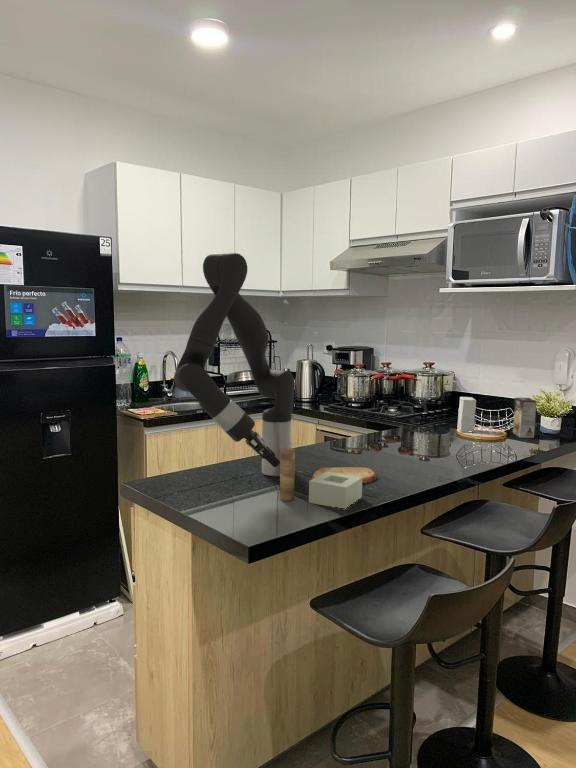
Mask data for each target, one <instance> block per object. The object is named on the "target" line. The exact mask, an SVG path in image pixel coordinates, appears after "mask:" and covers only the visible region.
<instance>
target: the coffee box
mask: <svg viewBox="0 0 576 768" xmlns="http://www.w3.org/2000/svg"><path fill="white" fill-rule="evenodd" d="M513 408H514V409H513V424H512V434H514V435H515V436H517V437H518V438H526V439H527V438H529V439H530V438H531V439H532V438H533V439H534V437H535V426H536V414H537V400H534V399H533V398H530V397H515V398H514V407H513Z"/></svg>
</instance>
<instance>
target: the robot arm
mask: <svg viewBox="0 0 576 768" xmlns="http://www.w3.org/2000/svg"><path fill="white" fill-rule="evenodd" d="M202 273H203V276H204V279H205V281H206V283H207V285H208V287H209V289H210V290H211V291H212V293H213V294H214V297H213V298H212V300H211V302H210V303H209V304H208V305H207V306H206V307H205V308H204V310H203V311H202V312H201V313H200V314H199V315H198V317H197V318H196V320H195V322H194V323H193V326H192V328H191V331H190V334H189V337H188V340H187V342H186V347H185V350H184V352H183V354H182V356H181V358H180V359H179V362H178V365H177V367H176V370H175V371H174V375H173V381H174V385H175V387H177V388H178V389H179V390H180V391H181V392H182V391H183V392H189V394H191V395H192V396H193V398H195V400H197V401H198V402H199V403H198V404H199V406H200V408H201V409H202V410H203V411H204V412H205V413H206V414H208V416H209V417H210V418H211V419H212V420H213V421H214V422H215V423H216V424H217V426H218V427H219V428H221V430H222V431H224V433H225V434H227V436H228V437H230V438H231V439H232V440H233V441H234V442H236V443H239V442H241V441H242V439H244V440H245V444H246V445H247V446H248V447H249V448H250V449H252V450H253V451H254V452H255V453H256V454H258V455H259V456H260V457H261V473H262V475H266V476H270V477H280V450H281V449H282V448H292V442H291V441H292V415H293V410H294V401H295V400H294V399H295V378H294V375H293V373H292V372H291V371H289V370H283V369H272V368H271V367H270V365H269V363H268V361H267V358H266V352H267V349H268V345H269V340H270V337H269V336H270V335H269V332H268V329H267V326H266V324H265V322H264V320H263V318H262V316H261V315H260V313H259V312H258V310H256V309H255V307H253V306H252V305H251V303H249V302H248V301H247V300H246V299H245V298H244V297H242V295H241V293H240V290H241V289H242V287H243V285H244V284H245V281H246V278H247V276H248V262H247V259H245V257H244V256H243V255H242V254H240V253H238V252H237V253H236V252H215V253H214V252H213V253H210V254H207V256H206V257H205V258H204V260H203V263H202ZM226 318H227V321H228V323H229V324H230V326H231V329H232V331H233V334H234V335H235V337H236V340H237V342H238V344H239V346H240V348H241V350H242V353H243V354H244V356H245V359H246V361H247V363H248V365H249V369H250V372H251V376H252V377H253V381H254V384H255V386H256V389H257V392H258V393H259V394H260V395H261V396H262V397H263V398H267V399H274V400H275V401H274V406H273V407H271V408H267V409H265V410H263V412H262V413H261V415H262V416H261V421H262V423H261V425H262V426H261V436H260V434H259V433H258V432H257V431H254V430H253V429H254V427H255V424H256V422H255V420H254V419H253V418H252V417H251V416H250V415H249V414H248V413H246V411H245V410H244V409H242V408H241V407H240V406H239V405H238V404H237V403H236V402H234V401H233V400H232V398H231V397H229V396H228V395H227V393H225V392H224V391H223V390H222V389H220V388H219V387H218V385H217V384H216V382H215V381H214V379H213V378H212V377H211V375H210V374H209V373H208V372H207V371H206V370H205V365H206V364H207V361H208V360H209V358H210V357H211V356H212V354H213V351H214V349H215V345H216V343H217V340H218V336H219V334H220V332H221V328H222V326H223V323H225V322H224V321H225V320H226Z"/></svg>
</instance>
